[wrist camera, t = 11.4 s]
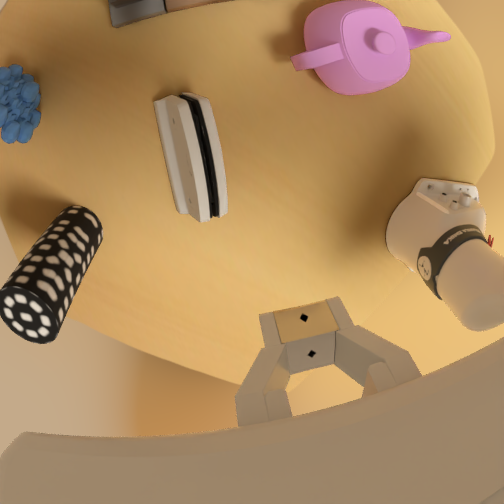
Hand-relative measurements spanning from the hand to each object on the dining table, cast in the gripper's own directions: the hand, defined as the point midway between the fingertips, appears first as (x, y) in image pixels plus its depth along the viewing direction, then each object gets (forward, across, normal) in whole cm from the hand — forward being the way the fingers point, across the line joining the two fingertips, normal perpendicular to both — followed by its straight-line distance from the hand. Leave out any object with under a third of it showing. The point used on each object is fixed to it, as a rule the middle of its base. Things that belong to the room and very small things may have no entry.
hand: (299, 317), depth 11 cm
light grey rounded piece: (+34, -6, -1) cm, 35 cm away
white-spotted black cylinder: (+34, -26, -8) cm, 44 cm away
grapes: (+34, -25, +14) cm, 45 cm away
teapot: (+34, +18, +11) cm, 40 cm away
